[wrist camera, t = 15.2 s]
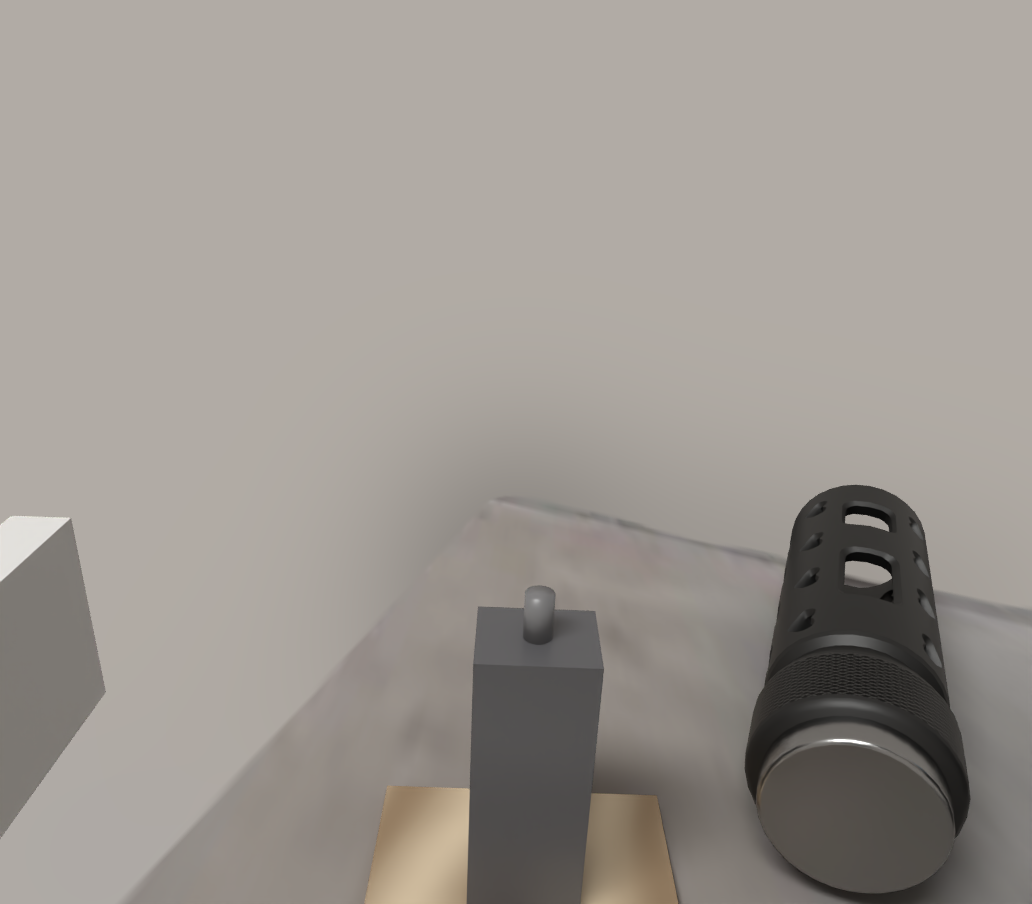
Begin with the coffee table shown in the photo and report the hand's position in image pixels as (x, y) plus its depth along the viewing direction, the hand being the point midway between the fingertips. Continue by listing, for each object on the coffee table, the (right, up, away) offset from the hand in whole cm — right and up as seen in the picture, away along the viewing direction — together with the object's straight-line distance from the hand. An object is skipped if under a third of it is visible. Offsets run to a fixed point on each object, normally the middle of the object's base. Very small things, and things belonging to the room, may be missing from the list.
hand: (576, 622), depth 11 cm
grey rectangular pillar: (0, -17, +28) cm, 33 cm away
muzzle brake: (+19, -14, +39) cm, 46 cm away
